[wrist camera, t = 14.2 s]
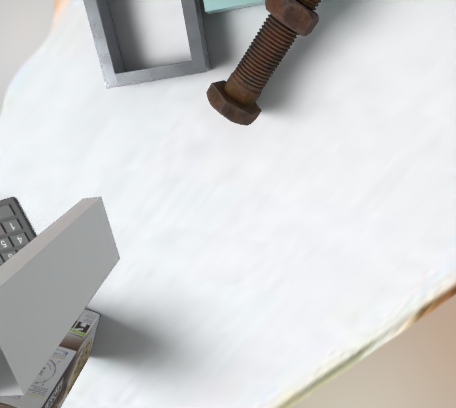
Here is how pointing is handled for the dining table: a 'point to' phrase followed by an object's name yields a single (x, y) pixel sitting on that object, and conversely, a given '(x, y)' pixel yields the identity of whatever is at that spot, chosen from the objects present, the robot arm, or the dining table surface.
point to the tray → (228, 5)
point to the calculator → (13, 229)
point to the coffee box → (59, 367)
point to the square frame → (118, 77)
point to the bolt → (262, 59)
